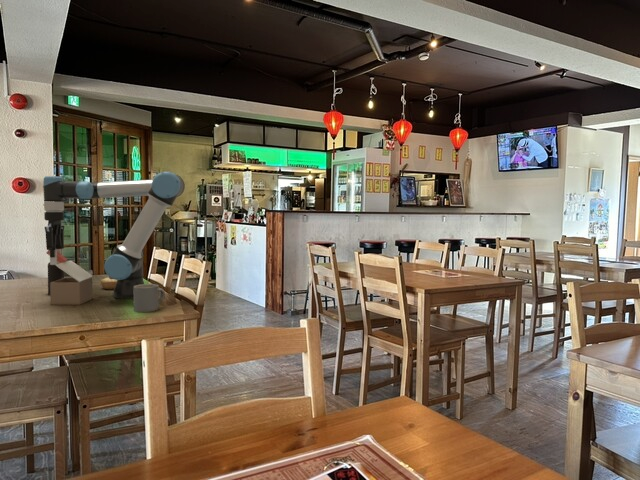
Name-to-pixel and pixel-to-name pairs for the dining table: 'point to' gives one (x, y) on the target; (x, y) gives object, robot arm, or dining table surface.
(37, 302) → the dining table surface
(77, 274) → the lid
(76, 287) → the carton
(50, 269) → the bottle
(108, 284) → the pastry
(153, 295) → the coffee mug
